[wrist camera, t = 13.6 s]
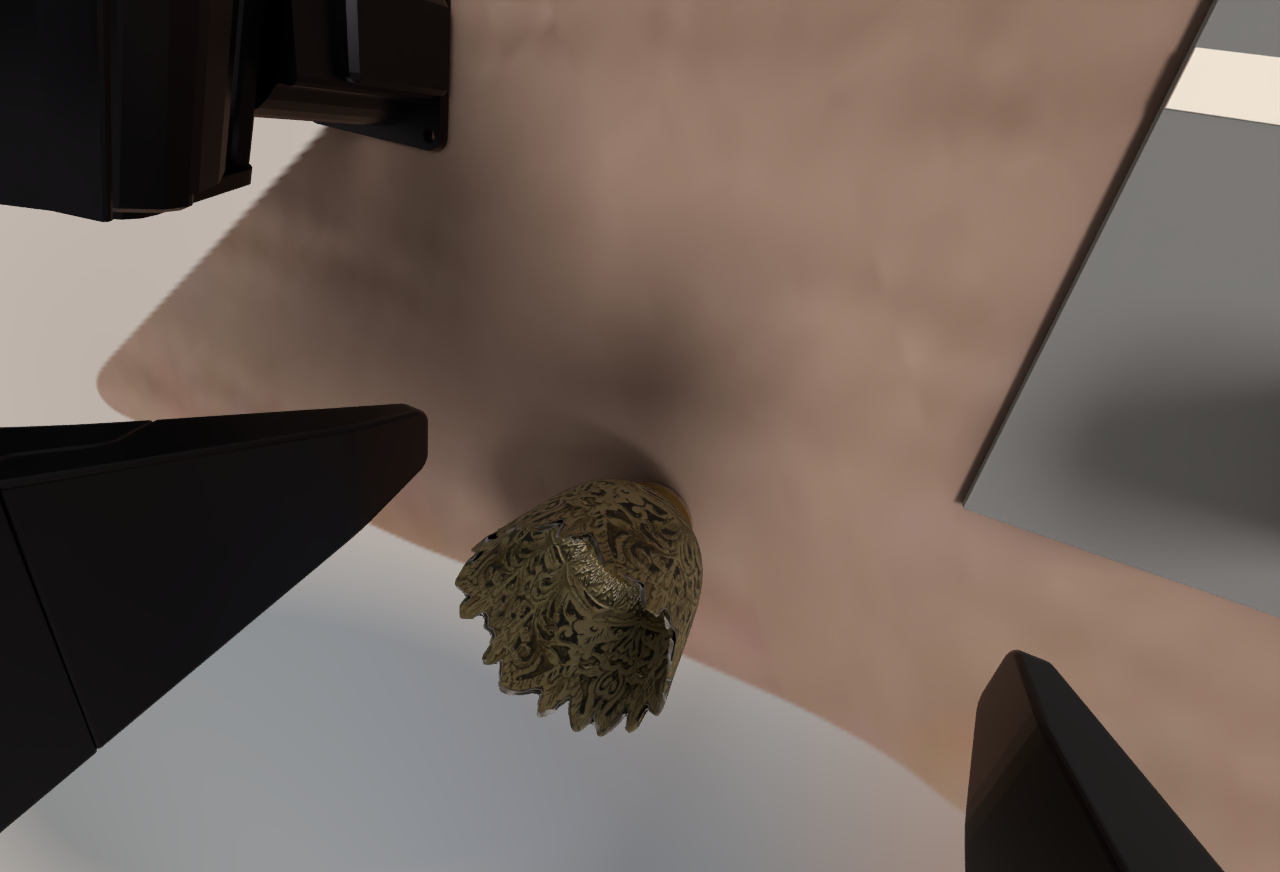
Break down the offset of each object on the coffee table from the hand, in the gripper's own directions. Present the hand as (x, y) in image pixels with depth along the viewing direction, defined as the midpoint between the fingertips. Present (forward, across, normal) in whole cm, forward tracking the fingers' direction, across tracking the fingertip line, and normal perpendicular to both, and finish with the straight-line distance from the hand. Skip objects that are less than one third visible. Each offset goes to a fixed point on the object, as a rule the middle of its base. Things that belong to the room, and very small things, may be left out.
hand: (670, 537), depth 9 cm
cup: (+13, +4, +9) cm, 16 cm away
